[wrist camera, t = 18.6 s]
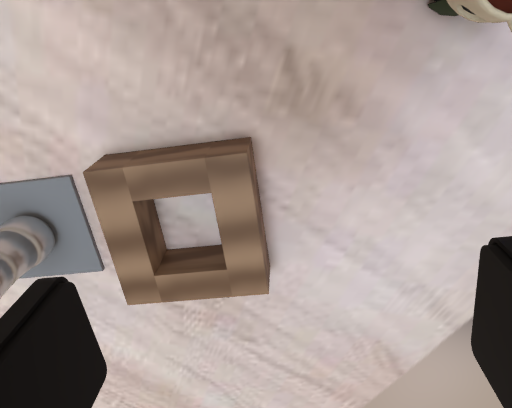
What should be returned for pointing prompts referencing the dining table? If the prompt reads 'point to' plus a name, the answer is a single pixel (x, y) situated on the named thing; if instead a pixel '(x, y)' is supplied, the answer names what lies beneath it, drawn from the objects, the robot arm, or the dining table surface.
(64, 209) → the pad
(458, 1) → the character mug
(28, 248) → the plastic bottle
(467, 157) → the dining table surface
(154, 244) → the bore block
